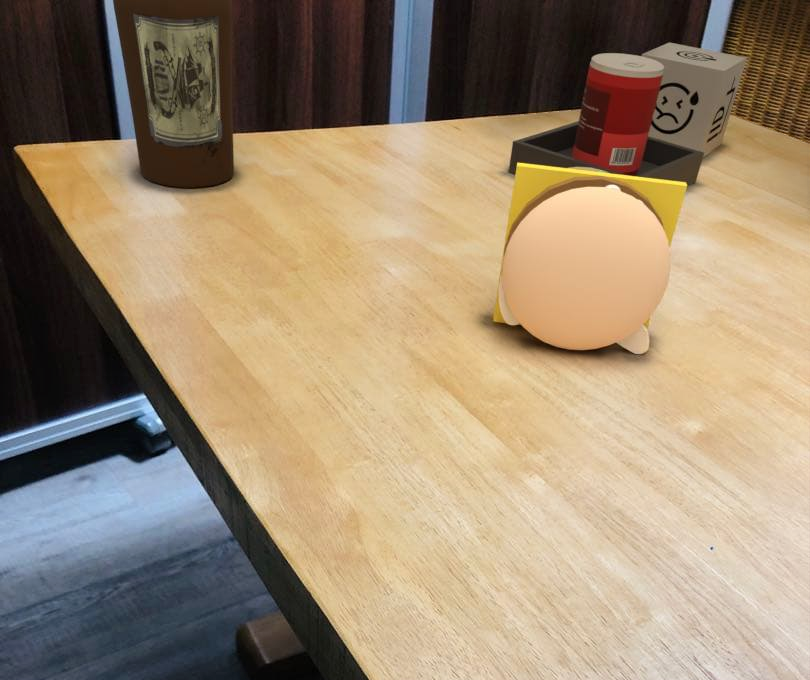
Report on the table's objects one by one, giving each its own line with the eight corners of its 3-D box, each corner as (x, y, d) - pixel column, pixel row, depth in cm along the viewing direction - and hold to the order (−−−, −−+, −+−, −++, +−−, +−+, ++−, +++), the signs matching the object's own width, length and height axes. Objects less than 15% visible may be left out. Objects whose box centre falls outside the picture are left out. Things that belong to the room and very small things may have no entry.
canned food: (648, 170, 99) (675, 63, 92) (621, 186, 94) (647, 75, 87) (588, 153, 102) (610, 49, 95) (558, 169, 97) (578, 59, 90)
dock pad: (695, 182, 100) (704, 152, 97) (629, 213, 90) (636, 180, 88) (581, 146, 107) (586, 118, 104) (508, 172, 97) (512, 141, 95)
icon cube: (721, 143, 112) (747, 57, 106) (698, 161, 106) (724, 71, 99) (648, 126, 116) (669, 42, 109) (621, 142, 109) (642, 54, 103)
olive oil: (133, 156, 92) (95, -143, 75) (233, 155, 94) (218, -134, 78) (136, 192, 84) (95, -132, 68) (246, 190, 87) (232, -122, 70)
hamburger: (489, 353, 65) (514, 190, 57) (494, 305, 71) (518, 152, 63) (649, 374, 64) (697, 212, 56) (640, 323, 71) (682, 172, 63)
